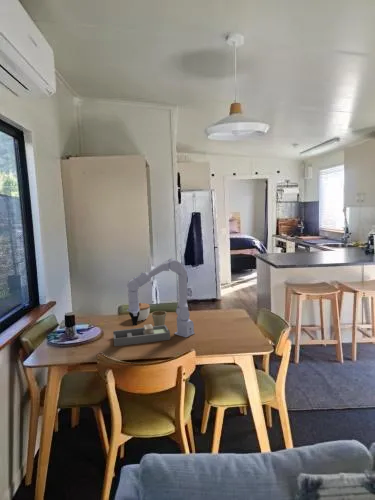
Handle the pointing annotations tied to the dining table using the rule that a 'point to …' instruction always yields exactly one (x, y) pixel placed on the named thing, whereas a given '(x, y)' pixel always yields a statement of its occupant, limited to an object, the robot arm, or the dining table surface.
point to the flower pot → (159, 317)
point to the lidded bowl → (143, 311)
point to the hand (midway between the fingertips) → (134, 325)
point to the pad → (159, 330)
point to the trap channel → (132, 337)
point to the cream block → (148, 329)
